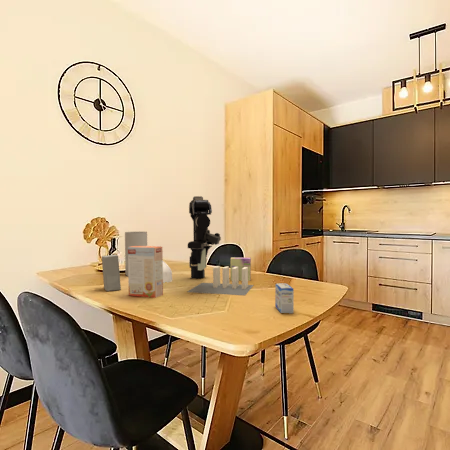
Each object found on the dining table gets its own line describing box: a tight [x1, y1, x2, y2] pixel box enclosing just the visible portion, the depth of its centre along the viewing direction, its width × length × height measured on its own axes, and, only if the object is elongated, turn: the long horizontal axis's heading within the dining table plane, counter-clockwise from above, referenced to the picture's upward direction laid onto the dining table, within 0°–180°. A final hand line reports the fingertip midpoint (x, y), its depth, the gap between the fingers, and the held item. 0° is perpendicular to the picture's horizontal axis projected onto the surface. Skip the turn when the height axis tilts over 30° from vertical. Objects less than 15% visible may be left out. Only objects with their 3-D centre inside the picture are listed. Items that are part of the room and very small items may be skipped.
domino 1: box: [198, 249, 207, 270], centre depth 137 cm, size 2×6×9 cm, turn 164°
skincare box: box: [101, 254, 122, 292], centre depth 141 cm, size 8×7×16 cm
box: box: [229, 257, 252, 282], centre depth 158 cm, size 10×6×12 cm, turn 84°
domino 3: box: [221, 265, 230, 288], centre depth 142 cm, size 2×6×9 cm, turn 164°
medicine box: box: [274, 282, 295, 314], centre depth 106 cm, size 8×4×9 cm, turn 5°
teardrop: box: [163, 260, 173, 284], centre depth 159 cm, size 11×11×12 cm
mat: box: [186, 282, 254, 296], centre depth 138 cm, size 26×20×1 cm
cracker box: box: [127, 245, 164, 299], centre depth 128 cm, size 14×6×21 cm, turn 65°
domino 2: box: [212, 265, 221, 288], centre depth 143 cm, size 2×6×9 cm, turn 164°
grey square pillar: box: [124, 231, 148, 277], centre depth 178 cm, size 12×12×25 cm
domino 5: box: [241, 267, 249, 289], centre depth 139 cm, size 2×6×9 cm, turn 164°
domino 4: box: [231, 267, 240, 289], centre depth 141 cm, size 2×6×9 cm, turn 164°
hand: (201, 262), depth 137 cm, fingers closed on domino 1, 6 cm apart
